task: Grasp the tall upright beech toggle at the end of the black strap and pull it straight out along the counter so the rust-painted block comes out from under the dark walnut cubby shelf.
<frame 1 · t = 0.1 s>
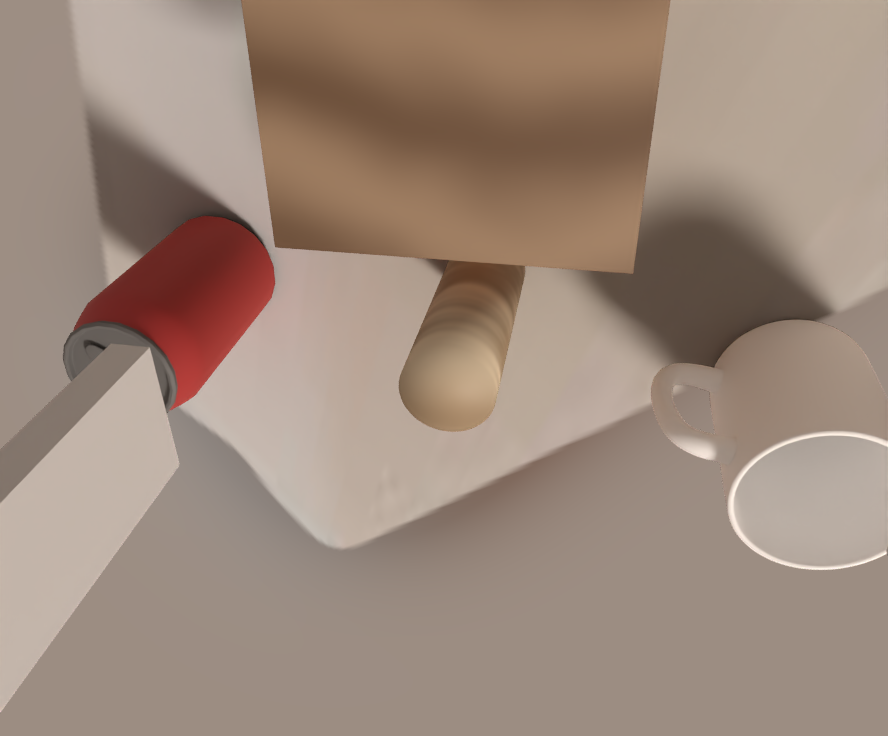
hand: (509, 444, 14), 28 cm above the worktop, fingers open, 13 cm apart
beer can: (227, 262, 46), on the worktop
cup: (752, 368, 44), on the worktop
tethered block: (490, 101, 38), on the worktop
cubby shelf: (491, 58, 37), on the worktop
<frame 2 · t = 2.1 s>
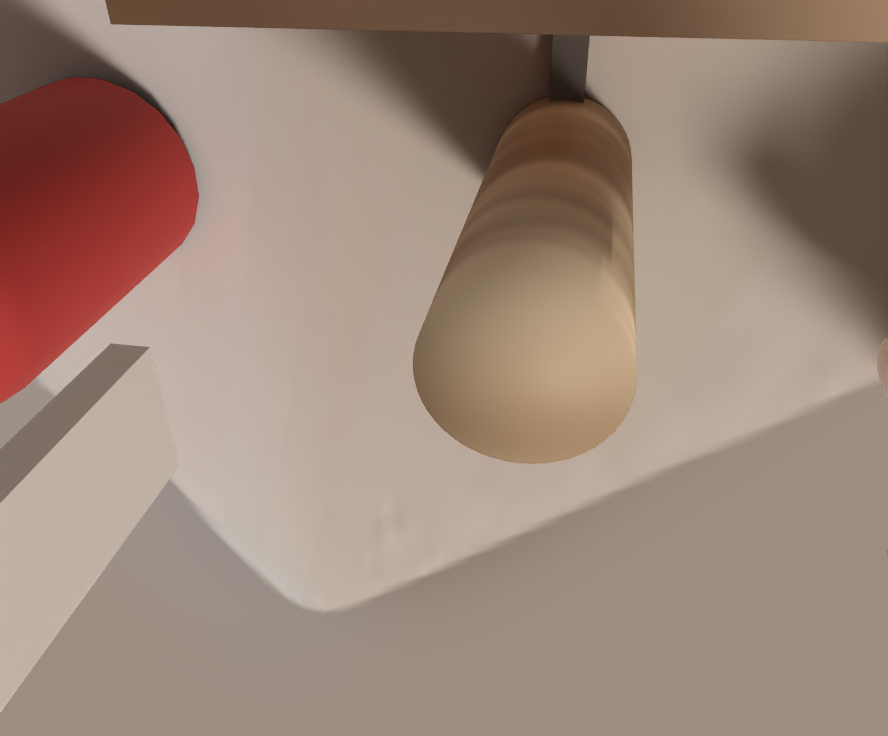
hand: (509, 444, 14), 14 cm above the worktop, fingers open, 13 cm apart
beer can: (120, 166, 28), on the worktop
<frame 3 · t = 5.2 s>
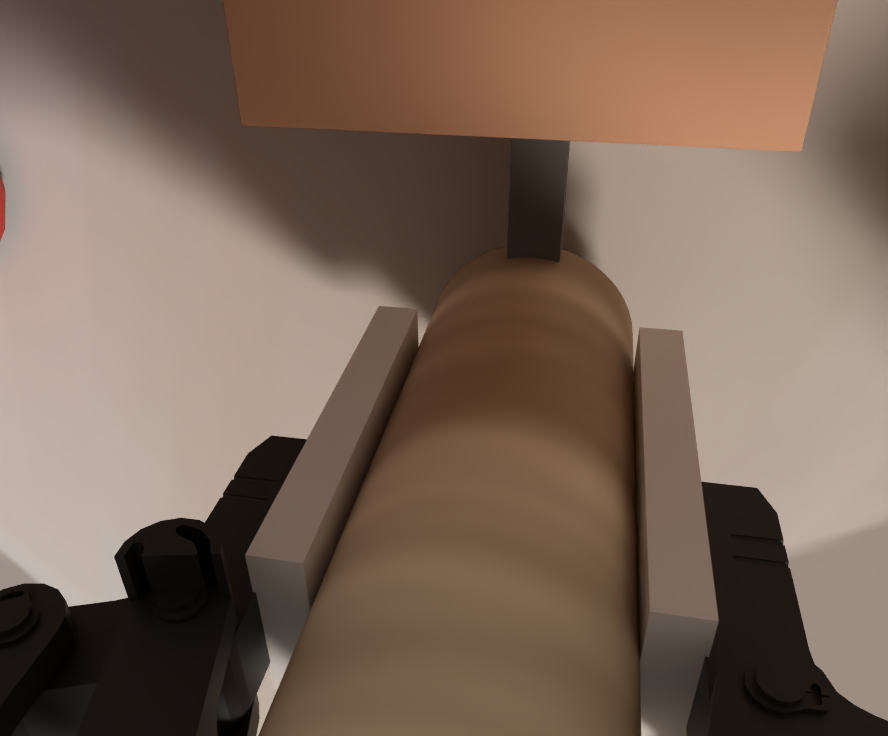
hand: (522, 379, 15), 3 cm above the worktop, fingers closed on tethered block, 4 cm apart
when the fingers open (2 cm above the worktop, at t = 6.8 s): tethered block stays where it is, on the worktop.
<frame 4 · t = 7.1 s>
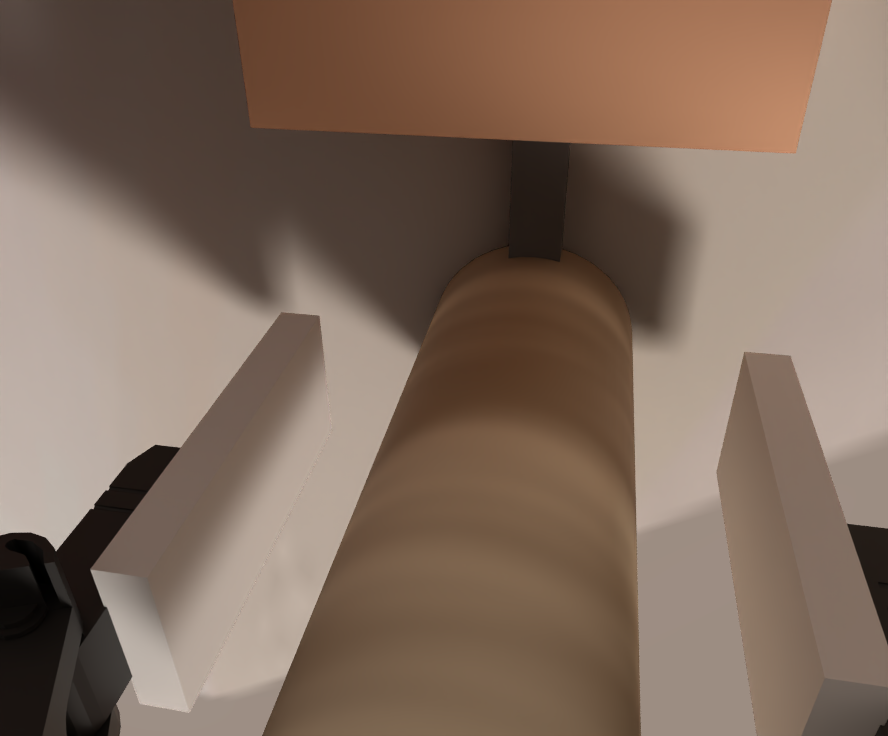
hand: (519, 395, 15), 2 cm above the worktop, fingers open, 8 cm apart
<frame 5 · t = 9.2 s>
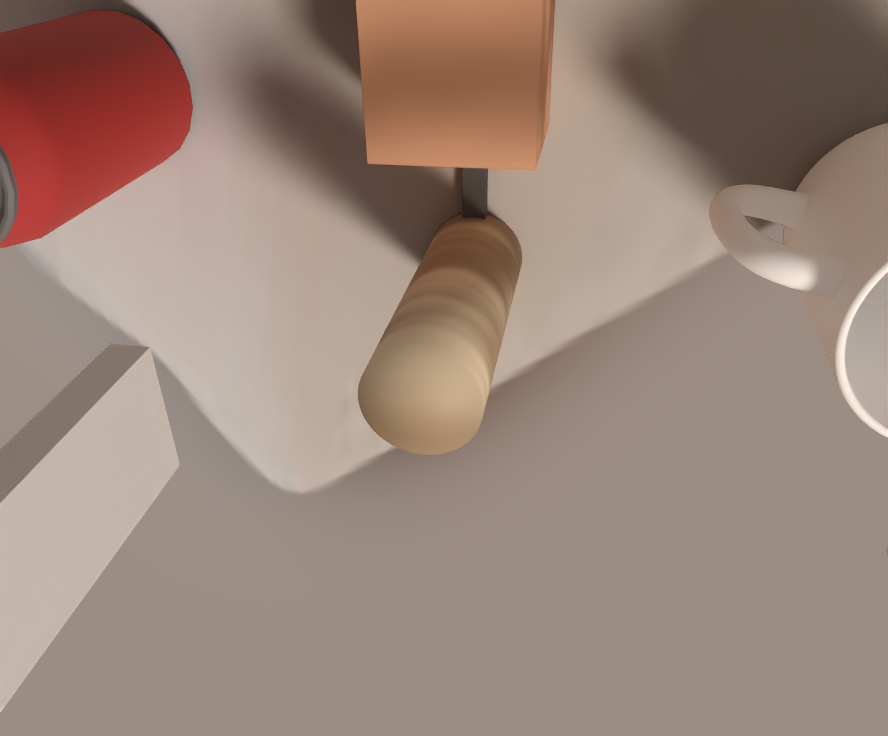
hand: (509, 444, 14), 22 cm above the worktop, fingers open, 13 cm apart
beer can: (131, 87, 35), on the worktop
cup: (843, 204, 32), on the worktop
tethered block: (476, 45, 31), on the worktop
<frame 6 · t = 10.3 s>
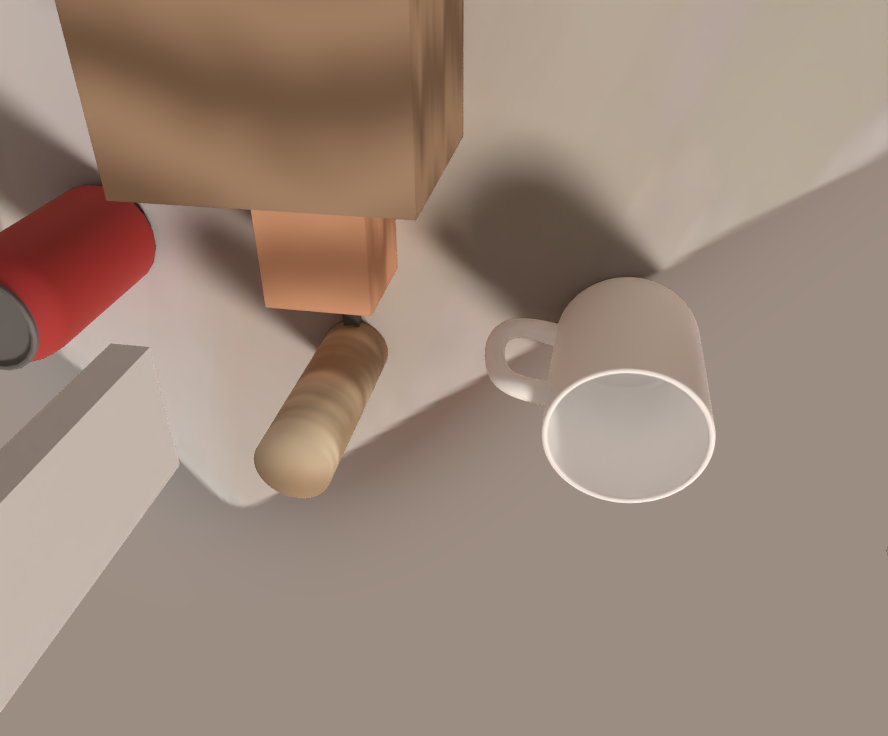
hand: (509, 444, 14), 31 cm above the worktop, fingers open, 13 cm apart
beer can: (113, 230, 50), on the worktop
cup: (595, 325, 47), on the worktop
tethered block: (345, 217, 46), on the worktop
cubby shelf: (329, 33, 40), on the worktop
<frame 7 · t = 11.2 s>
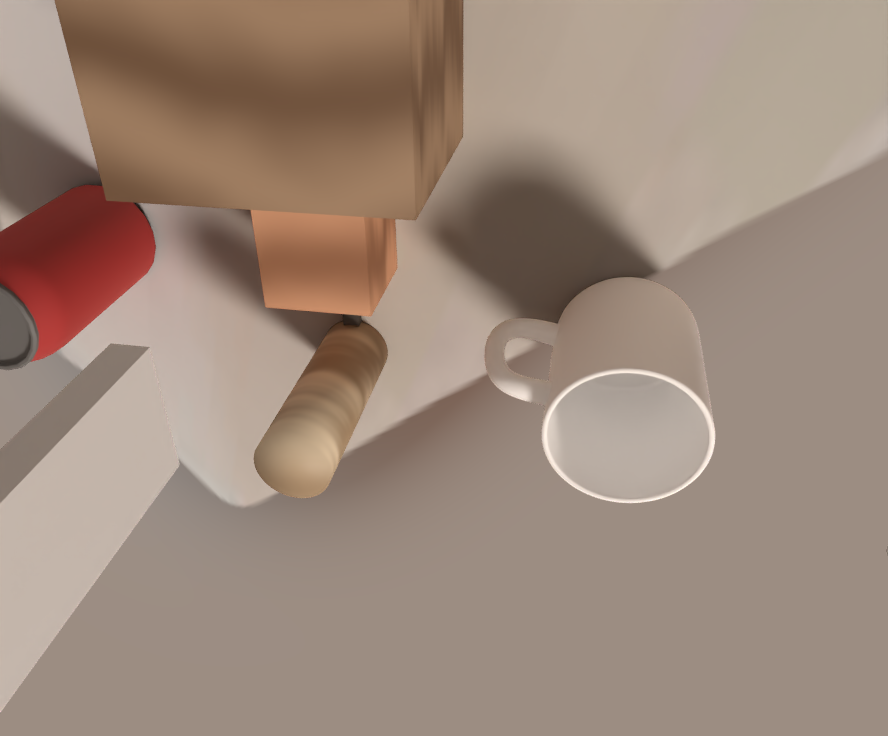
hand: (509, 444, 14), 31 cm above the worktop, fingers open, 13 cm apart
beer can: (112, 230, 50), on the worktop
cup: (595, 325, 47), on the worktop
tethered block: (345, 217, 46), on the worktop
cubby shelf: (329, 33, 40), on the worktop
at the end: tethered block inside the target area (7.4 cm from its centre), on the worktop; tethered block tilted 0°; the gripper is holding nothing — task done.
